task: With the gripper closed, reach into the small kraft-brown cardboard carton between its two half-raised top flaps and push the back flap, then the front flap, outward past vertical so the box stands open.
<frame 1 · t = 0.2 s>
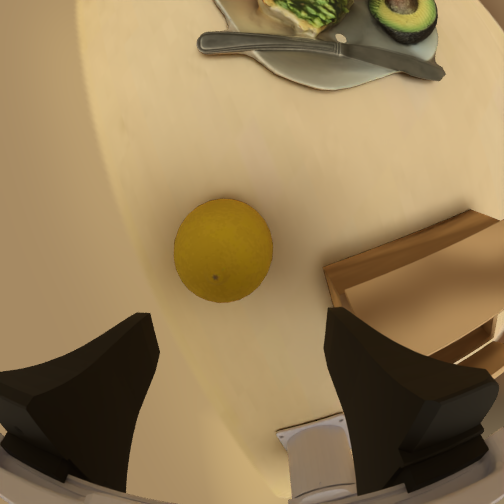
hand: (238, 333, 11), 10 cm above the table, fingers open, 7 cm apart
avocado toast plate: (333, 0, 14), on the table
carton: (414, 297, 22), on the table
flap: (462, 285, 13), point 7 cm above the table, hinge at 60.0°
lemon: (229, 229, 20), on the table
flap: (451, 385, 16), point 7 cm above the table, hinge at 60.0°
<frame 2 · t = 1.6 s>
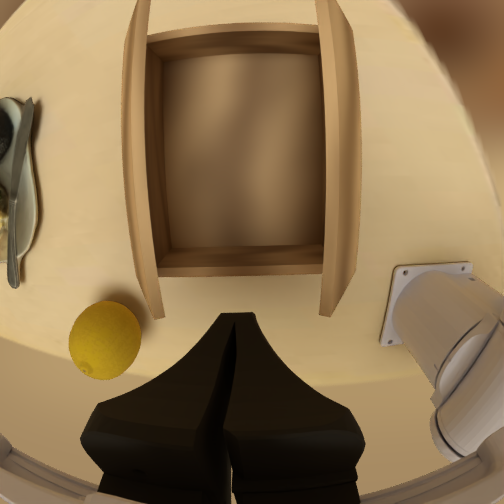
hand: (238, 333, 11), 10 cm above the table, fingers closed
carton: (242, 147, 18), on the table
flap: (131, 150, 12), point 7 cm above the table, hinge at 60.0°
lemon: (125, 312, 23), on the table
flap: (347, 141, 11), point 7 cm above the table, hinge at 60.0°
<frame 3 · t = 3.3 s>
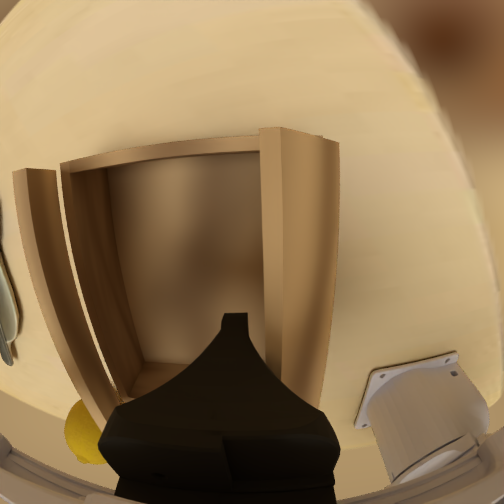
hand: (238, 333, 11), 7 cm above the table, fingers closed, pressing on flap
carton: (205, 272, 17), on the table
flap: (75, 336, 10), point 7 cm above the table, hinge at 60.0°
lemon: (111, 397, 22), on the table
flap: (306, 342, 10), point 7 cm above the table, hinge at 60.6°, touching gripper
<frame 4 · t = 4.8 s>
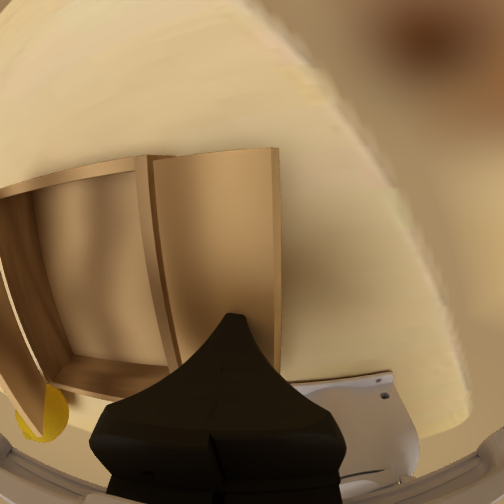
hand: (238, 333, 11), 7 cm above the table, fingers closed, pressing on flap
carton: (106, 278, 18), on the table
lemon: (60, 387, 22), on the table
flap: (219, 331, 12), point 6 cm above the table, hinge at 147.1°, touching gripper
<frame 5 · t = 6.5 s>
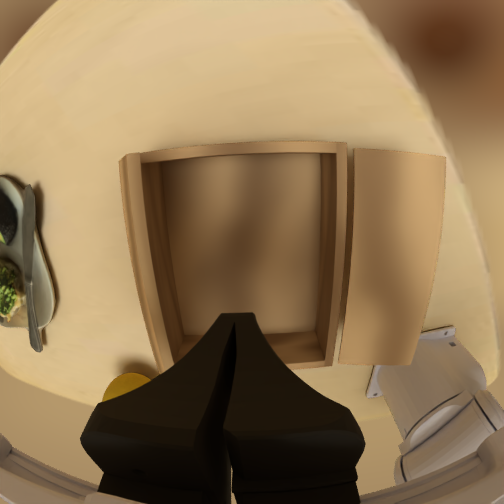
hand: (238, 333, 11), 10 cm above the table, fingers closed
avocado toast plate: (6, 250, 21), on the table
carton: (244, 251, 21), on the table
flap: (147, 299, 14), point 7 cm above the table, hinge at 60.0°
lemon: (144, 376, 25), on the table
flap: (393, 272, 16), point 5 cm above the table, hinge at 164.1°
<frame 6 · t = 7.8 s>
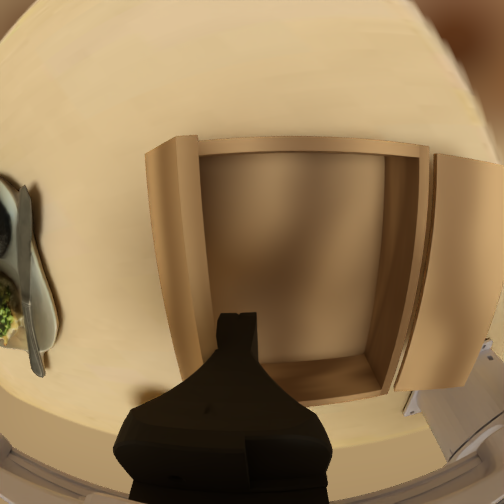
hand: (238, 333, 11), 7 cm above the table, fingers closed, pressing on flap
avocado toast plate: (0, 262, 18), on the table
carton: (294, 268, 17), on the table
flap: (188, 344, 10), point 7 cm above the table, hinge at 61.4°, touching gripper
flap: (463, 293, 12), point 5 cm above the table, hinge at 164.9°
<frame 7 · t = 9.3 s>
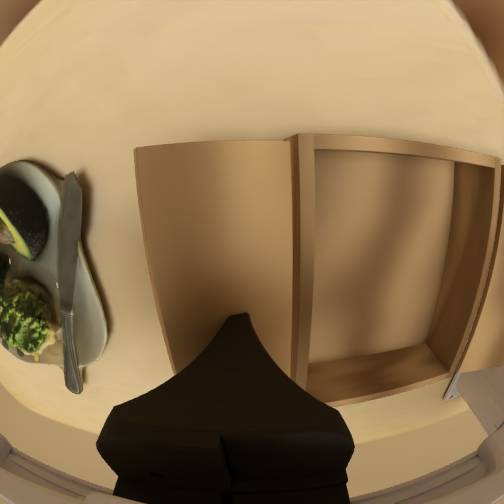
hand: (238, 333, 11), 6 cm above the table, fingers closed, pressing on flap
avocado toast plate: (25, 265, 17), on the table
carton: (378, 264, 17), on the table
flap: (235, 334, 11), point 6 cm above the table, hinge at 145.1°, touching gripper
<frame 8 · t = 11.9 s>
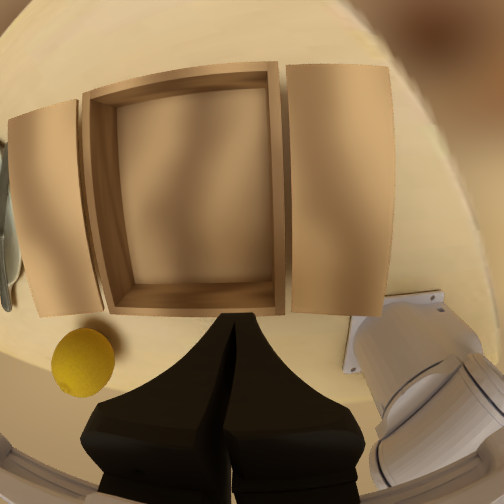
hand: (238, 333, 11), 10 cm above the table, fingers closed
carton: (192, 189, 19), on the table
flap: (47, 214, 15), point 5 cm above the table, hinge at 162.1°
lemon: (102, 336, 24), on the table
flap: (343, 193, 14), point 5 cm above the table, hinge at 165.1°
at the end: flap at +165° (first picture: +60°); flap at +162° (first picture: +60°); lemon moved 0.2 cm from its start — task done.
